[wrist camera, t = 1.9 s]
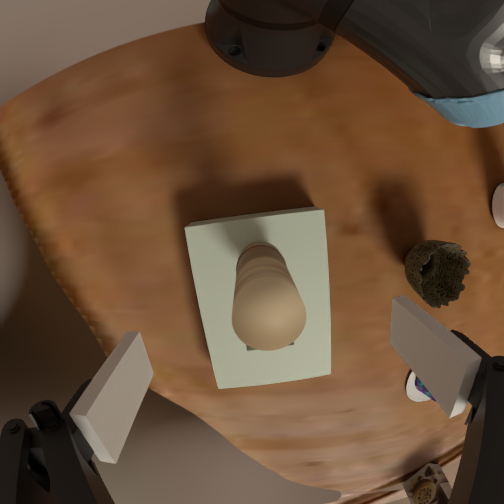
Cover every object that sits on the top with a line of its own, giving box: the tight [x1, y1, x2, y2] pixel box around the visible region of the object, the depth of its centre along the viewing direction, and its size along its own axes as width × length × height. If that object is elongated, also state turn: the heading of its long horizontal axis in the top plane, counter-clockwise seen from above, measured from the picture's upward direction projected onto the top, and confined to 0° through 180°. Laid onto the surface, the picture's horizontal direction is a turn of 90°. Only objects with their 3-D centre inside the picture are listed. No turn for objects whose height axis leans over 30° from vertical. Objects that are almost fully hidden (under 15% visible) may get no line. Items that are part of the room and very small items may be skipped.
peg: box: [232, 242, 306, 351], centre depth 23 cm, size 4×4×14 cm
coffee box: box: [403, 463, 452, 504], centre depth 40 cm, size 9×6×16 cm
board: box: [185, 206, 331, 389], centre depth 33 cm, size 20×14×4 cm
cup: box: [404, 240, 470, 308], centre depth 31 cm, size 8×7×8 cm
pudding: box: [406, 371, 437, 402], centre depth 37 cm, size 12×12×5 cm
